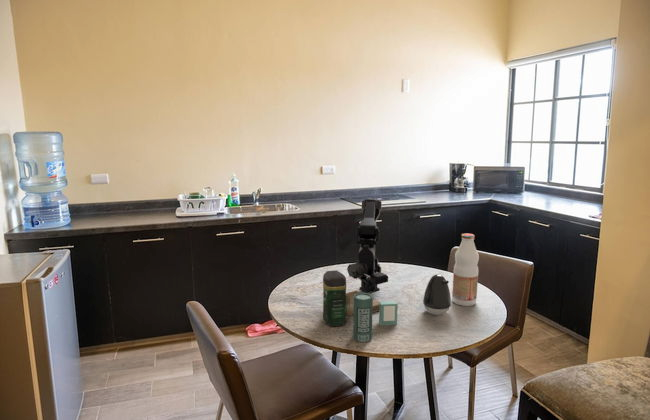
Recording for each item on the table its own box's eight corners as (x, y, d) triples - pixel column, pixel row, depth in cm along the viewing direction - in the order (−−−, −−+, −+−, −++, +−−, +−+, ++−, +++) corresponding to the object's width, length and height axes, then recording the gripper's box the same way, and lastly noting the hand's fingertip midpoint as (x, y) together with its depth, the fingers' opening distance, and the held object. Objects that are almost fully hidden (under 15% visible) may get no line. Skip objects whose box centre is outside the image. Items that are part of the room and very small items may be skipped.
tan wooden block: (343, 313, 170) (343, 293, 168) (355, 310, 173) (356, 290, 171) (347, 316, 167) (347, 296, 166) (360, 312, 171) (360, 292, 169)
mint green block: (379, 322, 162) (379, 301, 161) (395, 321, 163) (395, 301, 161) (380, 325, 160) (381, 304, 158) (397, 324, 160) (397, 304, 159)
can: (370, 333, 154) (371, 292, 151) (372, 342, 148) (373, 299, 145) (352, 333, 153) (353, 292, 150) (354, 342, 147) (354, 299, 145)
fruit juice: (456, 306, 175) (460, 238, 170) (448, 297, 185) (452, 231, 179) (479, 306, 176) (484, 237, 170) (471, 297, 185) (475, 231, 179)
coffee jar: (348, 326, 159) (348, 276, 156) (326, 328, 158) (326, 278, 154) (341, 314, 169) (341, 267, 165) (321, 316, 167) (320, 269, 163)
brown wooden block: (358, 300, 176) (371, 306, 169) (369, 296, 179) (383, 303, 173) (358, 306, 177) (370, 313, 170) (369, 302, 180) (382, 309, 173)
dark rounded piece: (435, 320, 163) (437, 281, 160) (417, 310, 172) (418, 272, 169) (456, 315, 168) (458, 276, 165) (437, 305, 177) (439, 268, 174)
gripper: (336, 253, 176) (336, 290, 179) (366, 265, 161) (365, 306, 164) (358, 248, 182) (358, 285, 185) (389, 260, 167) (388, 299, 170)
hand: (366, 293), depth 176 cm, fingers closed
